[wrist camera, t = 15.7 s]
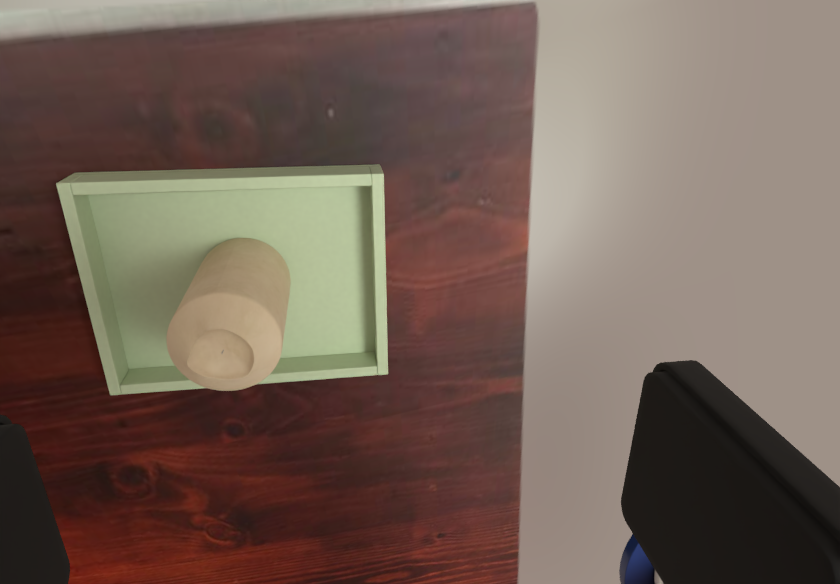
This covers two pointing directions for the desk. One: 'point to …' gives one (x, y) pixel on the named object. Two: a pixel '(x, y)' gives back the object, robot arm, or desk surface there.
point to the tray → (210, 226)
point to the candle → (232, 317)
